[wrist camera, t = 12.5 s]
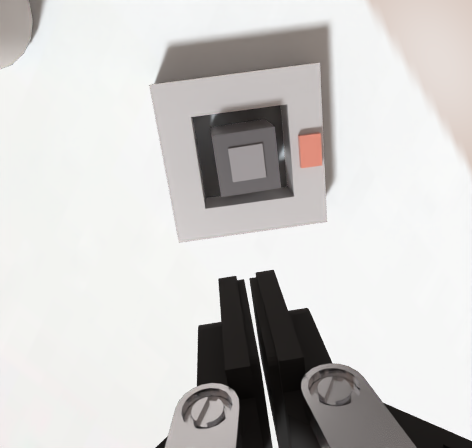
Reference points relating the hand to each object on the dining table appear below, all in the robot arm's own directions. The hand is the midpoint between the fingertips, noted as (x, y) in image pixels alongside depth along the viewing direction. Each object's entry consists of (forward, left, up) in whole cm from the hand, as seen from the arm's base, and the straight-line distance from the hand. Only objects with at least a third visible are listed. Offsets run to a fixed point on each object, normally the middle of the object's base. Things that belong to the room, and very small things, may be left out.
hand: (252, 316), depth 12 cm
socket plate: (-1, +2, -23) cm, 23 cm away
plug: (-1, +2, -23) cm, 23 cm away
